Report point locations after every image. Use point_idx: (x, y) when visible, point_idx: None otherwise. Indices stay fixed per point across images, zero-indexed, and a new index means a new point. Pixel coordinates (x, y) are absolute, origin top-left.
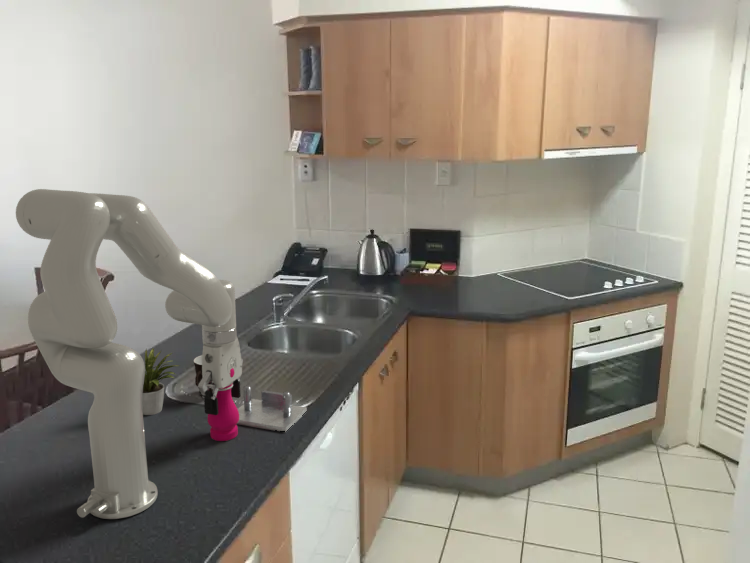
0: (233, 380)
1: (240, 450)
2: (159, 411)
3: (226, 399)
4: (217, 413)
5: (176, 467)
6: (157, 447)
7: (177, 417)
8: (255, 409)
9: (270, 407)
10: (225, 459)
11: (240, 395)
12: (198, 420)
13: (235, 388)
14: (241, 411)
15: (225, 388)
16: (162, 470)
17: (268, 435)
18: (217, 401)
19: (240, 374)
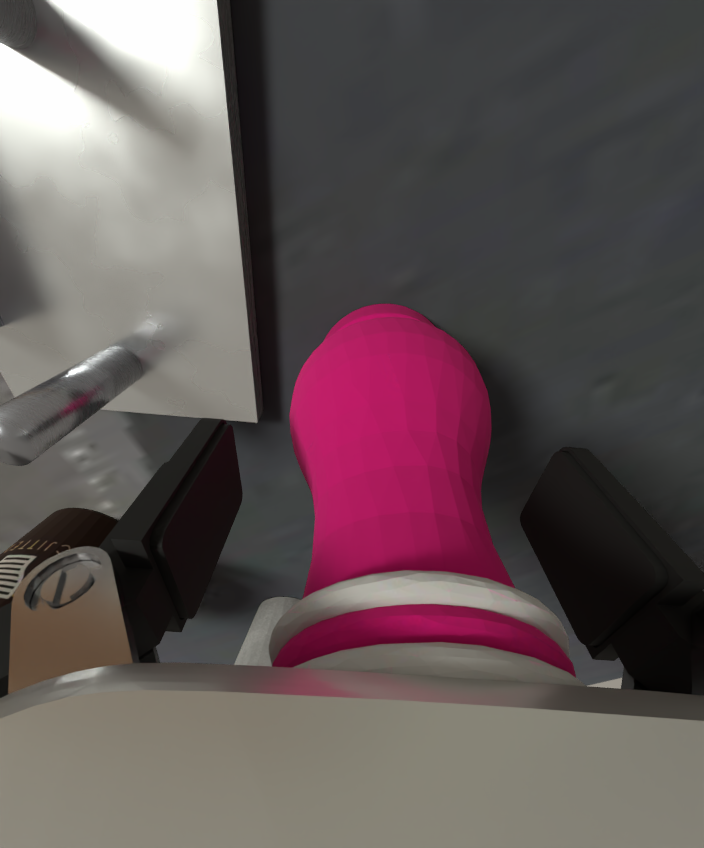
0: (450, 727)
1: (544, 200)
2: (288, 600)
3: (465, 486)
4: (587, 452)
5: (678, 426)
6: (508, 529)
7: (298, 555)
8: (97, 323)
9: (6, 239)
10: (648, 244)
11: (200, 422)
12: (292, 502)
13: (200, 506)
14: (164, 385)
15: (543, 630)
16: (690, 458)
17: (318, 79)
18: (655, 542)
19: (48, 737)
